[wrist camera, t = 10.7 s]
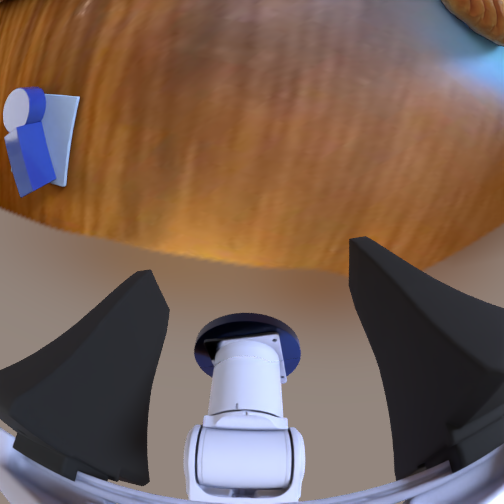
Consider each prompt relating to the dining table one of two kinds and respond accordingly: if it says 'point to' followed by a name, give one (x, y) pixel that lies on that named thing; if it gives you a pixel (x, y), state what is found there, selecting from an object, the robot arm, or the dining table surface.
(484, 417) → the robot arm
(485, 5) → the pastry
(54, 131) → the blue mat
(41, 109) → the blue spoon
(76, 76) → the dining table surface
